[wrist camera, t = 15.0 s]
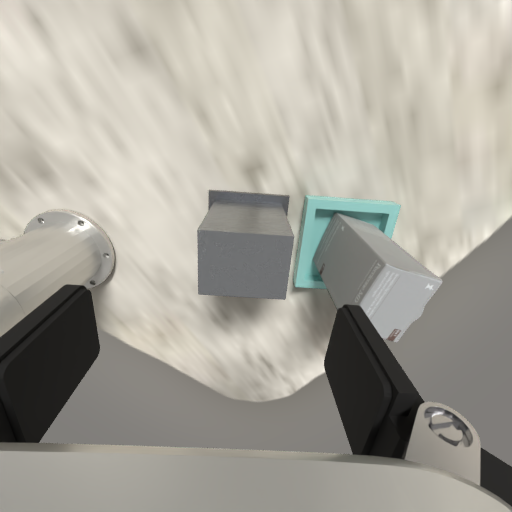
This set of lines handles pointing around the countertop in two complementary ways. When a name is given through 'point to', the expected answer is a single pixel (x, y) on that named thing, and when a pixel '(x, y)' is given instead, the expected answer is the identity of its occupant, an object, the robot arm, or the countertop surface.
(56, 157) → the countertop surface
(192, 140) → the countertop surface
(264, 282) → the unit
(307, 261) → the tray
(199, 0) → the countertop surface
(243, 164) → the countertop surface
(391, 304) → the skincare box
